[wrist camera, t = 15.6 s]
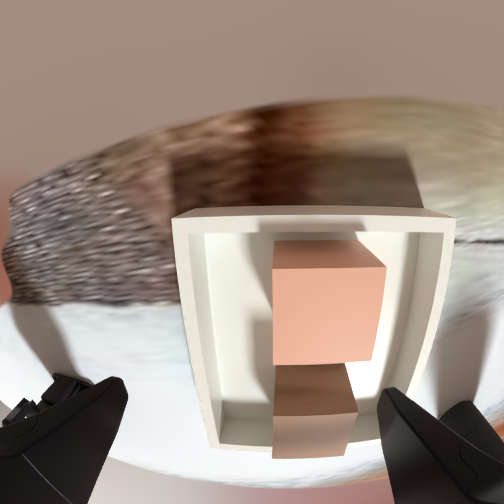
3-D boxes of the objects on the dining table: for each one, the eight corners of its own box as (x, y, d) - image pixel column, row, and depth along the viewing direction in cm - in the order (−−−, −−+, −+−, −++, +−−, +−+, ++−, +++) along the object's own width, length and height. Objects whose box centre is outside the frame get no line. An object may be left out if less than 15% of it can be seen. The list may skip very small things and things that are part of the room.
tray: (383, 409, 21) (393, 441, 17) (219, 414, 22) (210, 447, 18) (424, 208, 16) (456, 218, 12) (194, 208, 17) (171, 218, 14)
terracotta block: (351, 315, 17) (371, 360, 13) (275, 317, 18) (272, 365, 13) (358, 240, 16) (386, 267, 11) (274, 240, 17) (272, 268, 12)
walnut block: (335, 408, 20) (343, 455, 15) (274, 410, 20) (271, 458, 15) (345, 363, 18) (358, 412, 14) (275, 365, 19) (273, 416, 14)
